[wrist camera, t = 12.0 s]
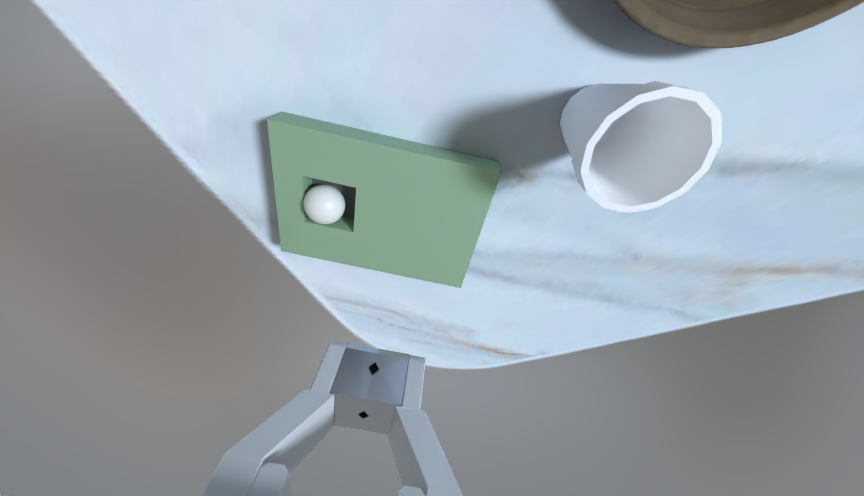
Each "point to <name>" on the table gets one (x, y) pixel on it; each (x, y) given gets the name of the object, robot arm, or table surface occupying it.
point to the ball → (324, 204)
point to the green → (380, 199)
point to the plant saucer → (730, 19)
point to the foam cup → (640, 142)
